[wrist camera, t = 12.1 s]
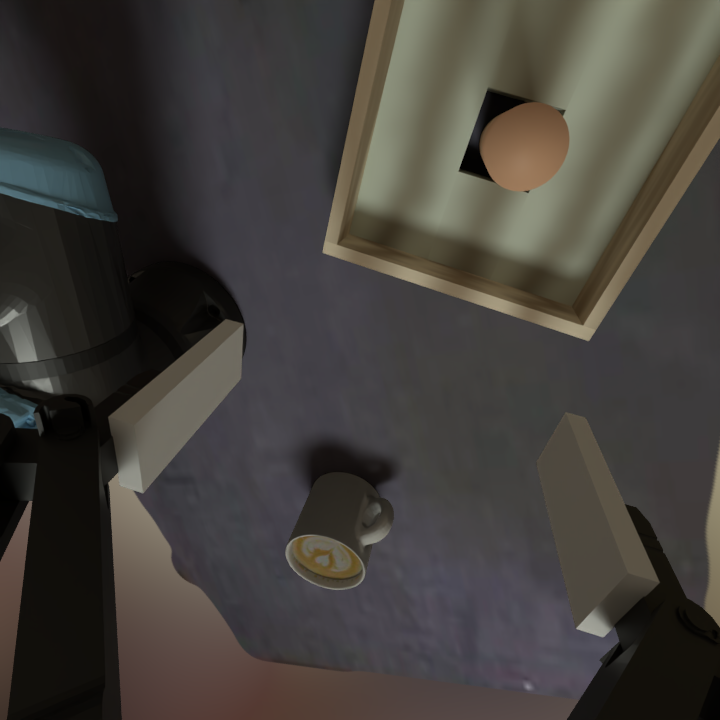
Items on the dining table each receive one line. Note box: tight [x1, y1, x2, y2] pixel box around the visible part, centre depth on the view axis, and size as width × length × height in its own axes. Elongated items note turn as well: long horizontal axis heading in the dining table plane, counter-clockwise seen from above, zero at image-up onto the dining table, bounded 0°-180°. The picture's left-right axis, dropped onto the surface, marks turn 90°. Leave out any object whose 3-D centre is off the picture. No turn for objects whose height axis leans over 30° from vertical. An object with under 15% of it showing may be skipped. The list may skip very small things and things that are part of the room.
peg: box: [479, 102, 570, 191], centre depth 27 cm, size 4×4×14 cm
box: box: [323, 0, 720, 341], centre depth 30 cm, size 22×22×7 cm
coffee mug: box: [286, 472, 394, 590], centre depth 52 cm, size 13×10×10 cm
